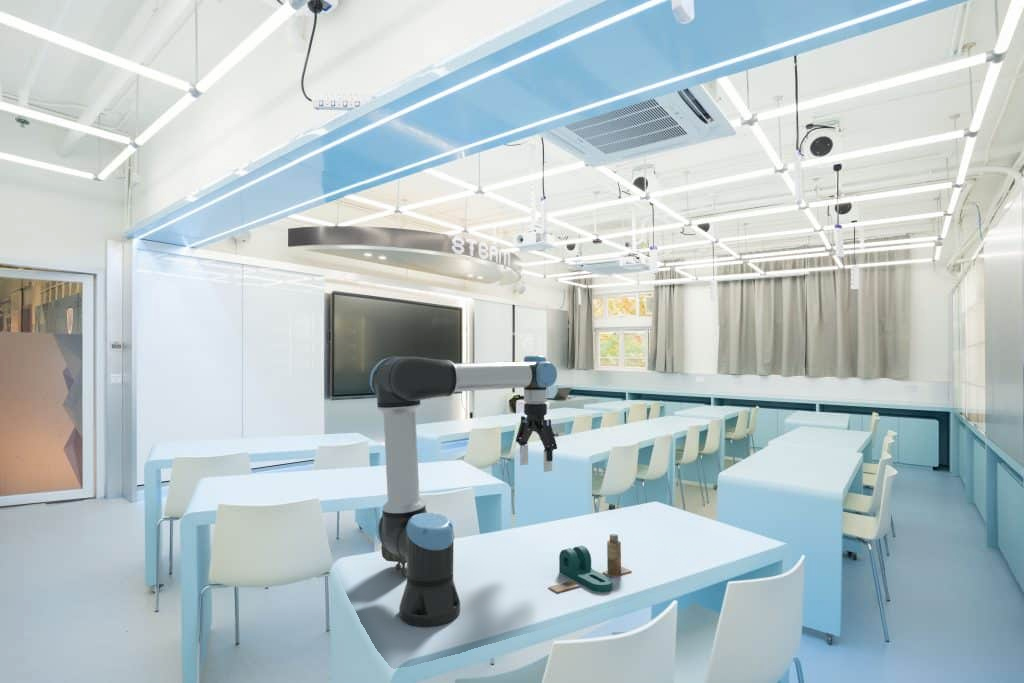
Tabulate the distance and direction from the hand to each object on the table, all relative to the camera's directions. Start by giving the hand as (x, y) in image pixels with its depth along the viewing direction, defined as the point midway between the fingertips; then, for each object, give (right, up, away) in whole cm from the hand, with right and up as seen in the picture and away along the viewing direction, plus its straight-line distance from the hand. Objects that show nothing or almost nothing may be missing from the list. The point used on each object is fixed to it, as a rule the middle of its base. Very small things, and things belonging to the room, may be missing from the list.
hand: (535, 468), depth 176 cm
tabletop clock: (-41, -29, -12) cm, 51 cm away
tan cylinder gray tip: (+23, -28, -15) cm, 39 cm away
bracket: (+14, -28, -20) cm, 38 cm away
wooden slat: (+15, -28, -20) cm, 38 cm away
